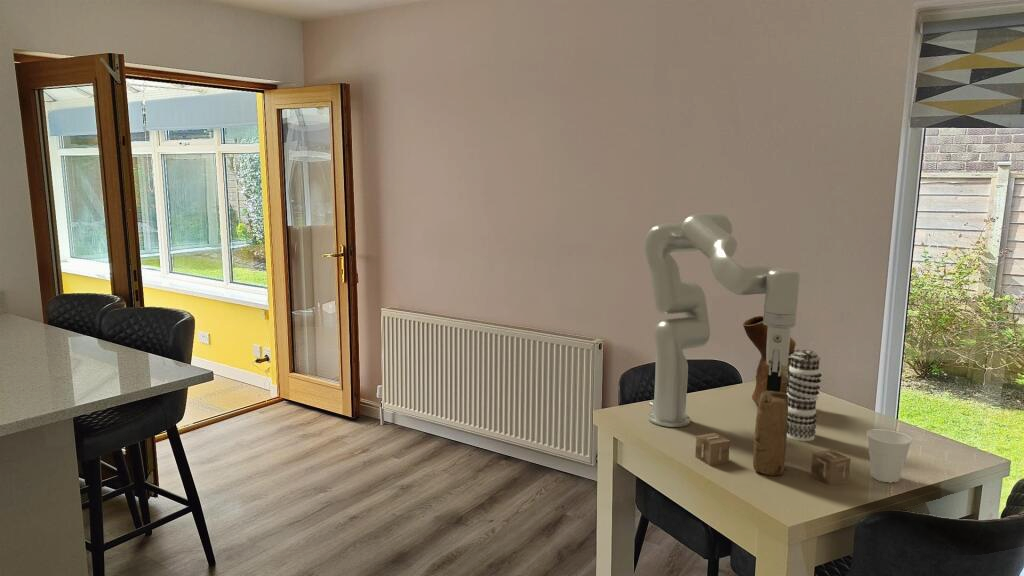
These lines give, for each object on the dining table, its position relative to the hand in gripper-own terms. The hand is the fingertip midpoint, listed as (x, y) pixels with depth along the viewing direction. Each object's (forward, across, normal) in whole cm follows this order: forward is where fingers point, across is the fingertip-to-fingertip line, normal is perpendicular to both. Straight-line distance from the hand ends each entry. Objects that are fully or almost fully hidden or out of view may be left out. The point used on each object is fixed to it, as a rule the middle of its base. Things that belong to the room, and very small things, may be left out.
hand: (773, 390), depth 173 cm
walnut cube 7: (+21, 0, -15) cm, 25 cm away
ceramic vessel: (+22, +52, +1) cm, 56 cm away
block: (+21, 0, 0) cm, 21 cm away
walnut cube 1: (+21, 0, +14) cm, 25 cm away
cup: (+21, +5, -27) cm, 35 cm away
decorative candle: (+21, +28, -8) cm, 36 cm away
